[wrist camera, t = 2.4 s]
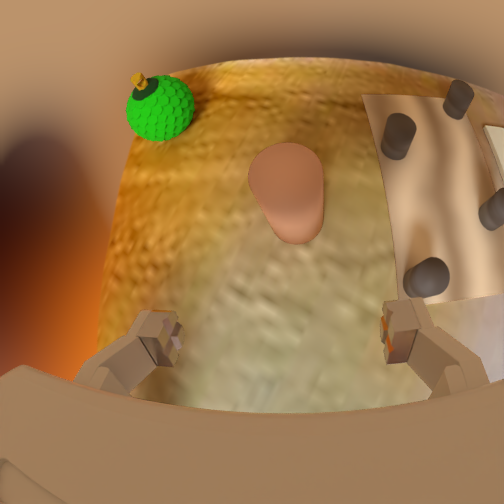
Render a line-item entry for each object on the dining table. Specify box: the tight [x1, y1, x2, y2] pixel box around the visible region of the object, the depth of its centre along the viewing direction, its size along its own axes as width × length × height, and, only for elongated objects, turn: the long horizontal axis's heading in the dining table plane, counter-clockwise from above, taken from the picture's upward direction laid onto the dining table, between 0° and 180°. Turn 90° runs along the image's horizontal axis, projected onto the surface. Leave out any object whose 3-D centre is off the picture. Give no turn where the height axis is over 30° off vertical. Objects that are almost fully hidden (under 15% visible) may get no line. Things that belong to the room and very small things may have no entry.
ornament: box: [126, 73, 195, 141], centre depth 29 cm, size 8×8×10 cm
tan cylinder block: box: [248, 143, 323, 244], centre depth 23 cm, size 5×5×9 cm
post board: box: [361, 80, 504, 304], centre depth 23 cm, size 14×24×5 cm, turn 1°
